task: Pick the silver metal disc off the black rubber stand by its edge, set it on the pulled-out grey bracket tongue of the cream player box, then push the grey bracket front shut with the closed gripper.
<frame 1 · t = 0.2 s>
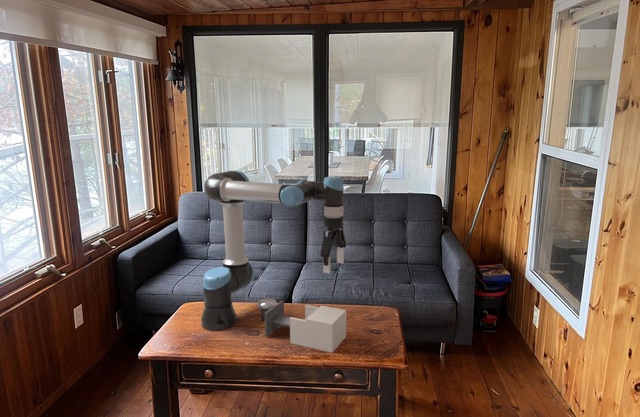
hand: (333, 267, 177), 28 cm above the table, fingers open, 13 cm apart
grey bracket: (291, 321, 179), point 5 cm above the table, slide at 10.5 cm
disc: (267, 306, 193), point 6 cm above the table, touching stand
housing: (318, 339, 175), on the table
stand: (267, 318, 195), on the table
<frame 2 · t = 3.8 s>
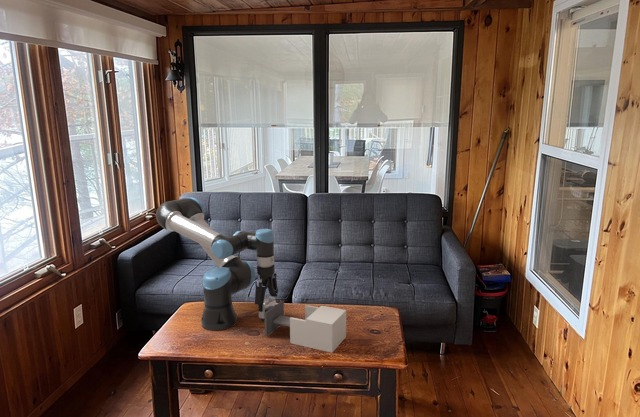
hand: (267, 314, 194), 2 cm above the table, fingers closed on disc, 8 cm apart
disc: (267, 306, 193), point 6 cm above the table, touching gripper, stand
everything else where it was.
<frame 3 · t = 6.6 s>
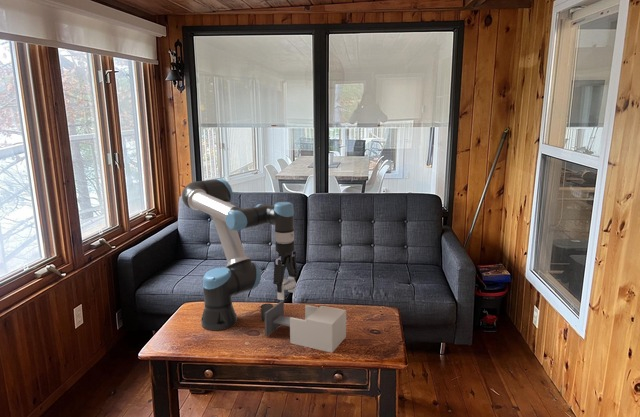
hand: (286, 295, 178), 16 cm above the table, fingers closed on disc, 8 cm apart
disc: (286, 286, 178), point 20 cm above the table, touching gripper
everything else where it was.
when the fingers open (3 cm above the table, at t = 9.2 s): disc drops 2 cm, resting on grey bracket.
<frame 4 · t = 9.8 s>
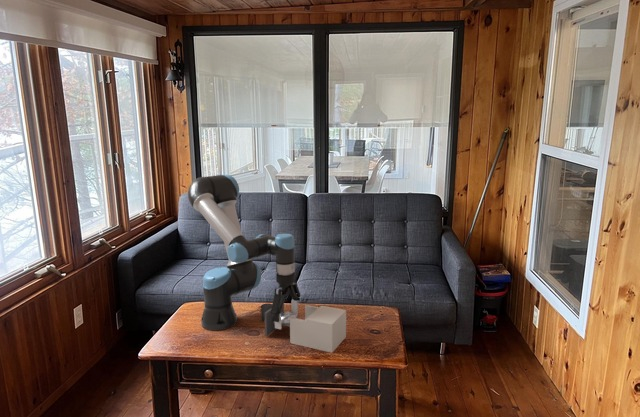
hand: (286, 321, 180), 5 cm above the table, fingers open, 13 cm apart
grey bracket: (291, 321, 179), point 5 cm above the table, slide at 10.5 cm, touching disc
disc: (286, 320, 180), point 6 cm above the table, touching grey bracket
everything else where it was.
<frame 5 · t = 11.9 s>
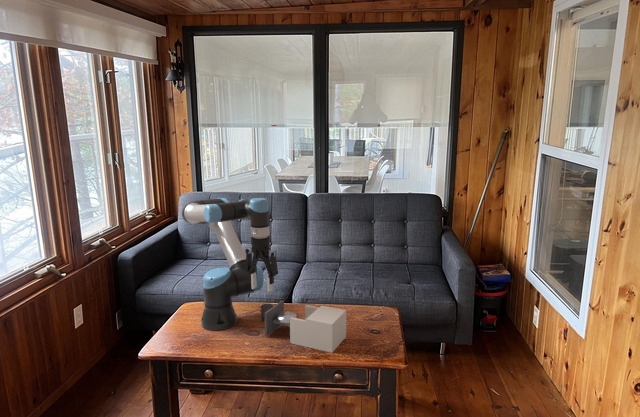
hand: (262, 289, 183), 17 cm above the table, fingers open, 7 cm apart
nothing on the table moved.
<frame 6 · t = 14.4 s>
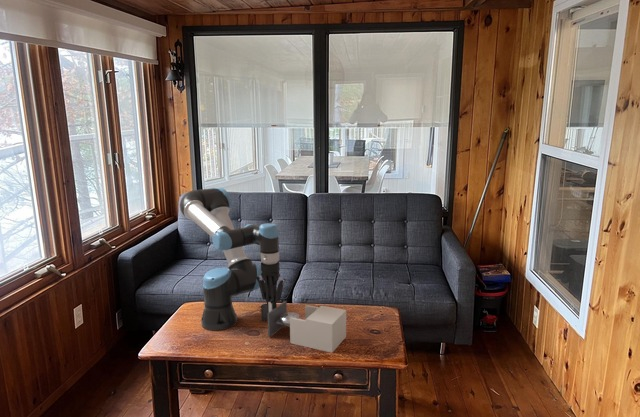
hand: (272, 316, 183), 6 cm above the table, fingers closed
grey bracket: (294, 322, 179), point 6 cm above the table, slide at 9.1 cm, touching disc, gripper
disc: (289, 320, 180), point 6 cm above the table, touching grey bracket
everything else where it was.
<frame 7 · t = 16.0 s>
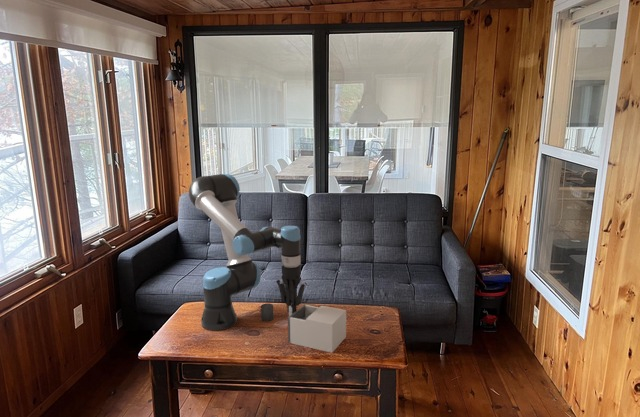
hand: (292, 320, 179), 6 cm above the table, fingers closed
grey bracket: (315, 326, 175), point 6 cm above the table, slide at -0.2 cm, touching disc, gripper
disc: (310, 325, 176), point 6 cm above the table, touching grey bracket
everything else where it was.
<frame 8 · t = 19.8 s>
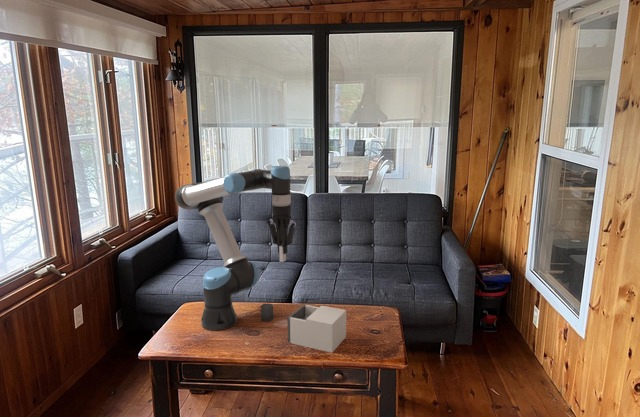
hand: (282, 260, 181), 29 cm above the table, fingers closed
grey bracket: (314, 326, 175), point 5 cm above the table, slide at 0.0 cm, touching disc
everything else where it was.
at the end: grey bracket slide at 0.0 cm; disc inside the target area on the housing (4.0 cm from its centre), point 5.6 cm above the housing's base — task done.
